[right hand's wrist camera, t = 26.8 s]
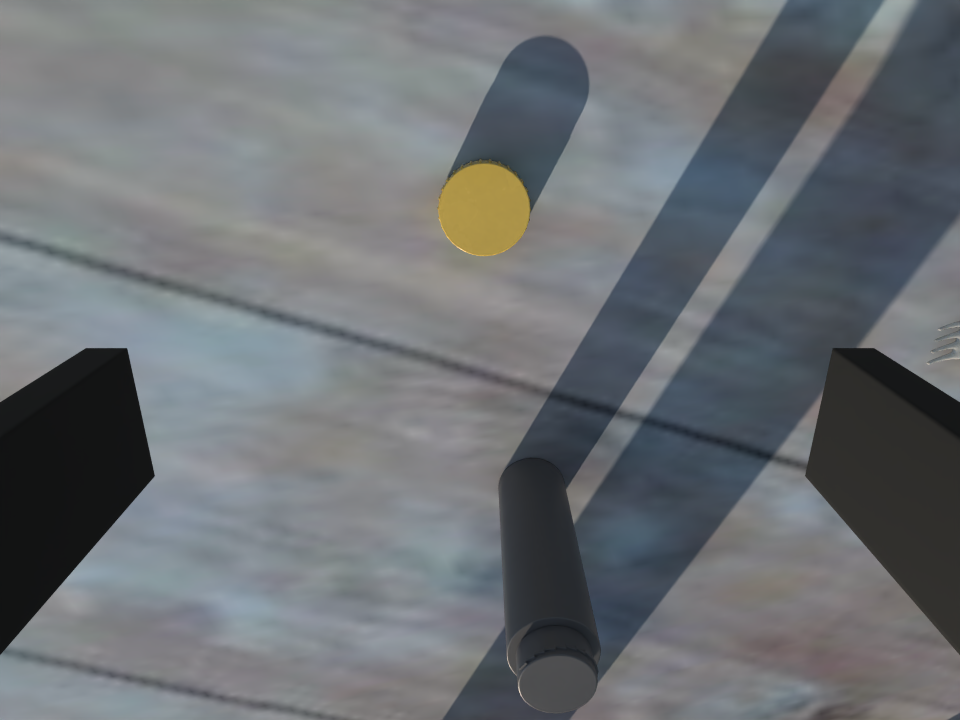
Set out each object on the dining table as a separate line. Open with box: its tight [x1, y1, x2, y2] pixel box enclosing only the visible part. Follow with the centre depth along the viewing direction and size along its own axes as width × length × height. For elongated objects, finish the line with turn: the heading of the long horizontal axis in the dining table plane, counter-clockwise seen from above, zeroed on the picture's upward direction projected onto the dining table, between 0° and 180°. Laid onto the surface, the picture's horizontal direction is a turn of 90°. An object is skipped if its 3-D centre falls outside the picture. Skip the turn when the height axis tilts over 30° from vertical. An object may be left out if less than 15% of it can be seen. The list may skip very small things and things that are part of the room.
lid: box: [438, 159, 531, 256], centre depth 36 cm, size 5×5×2 cm
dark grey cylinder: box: [499, 458, 601, 713], centre depth 37 cm, size 4×4×16 cm
